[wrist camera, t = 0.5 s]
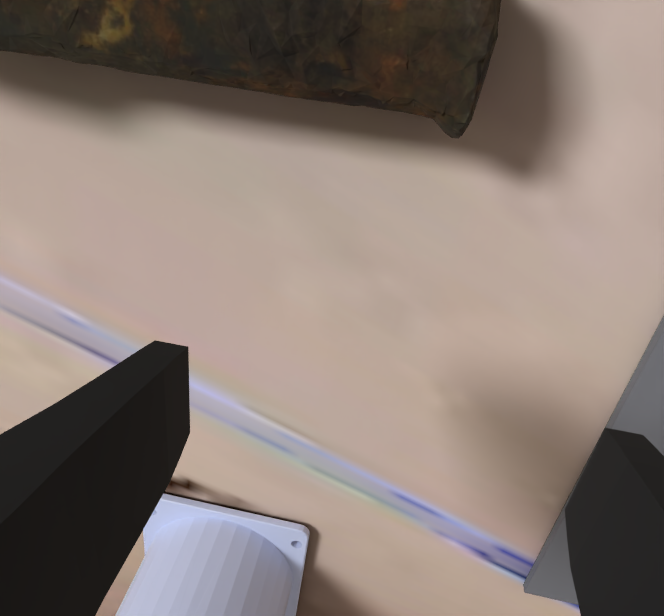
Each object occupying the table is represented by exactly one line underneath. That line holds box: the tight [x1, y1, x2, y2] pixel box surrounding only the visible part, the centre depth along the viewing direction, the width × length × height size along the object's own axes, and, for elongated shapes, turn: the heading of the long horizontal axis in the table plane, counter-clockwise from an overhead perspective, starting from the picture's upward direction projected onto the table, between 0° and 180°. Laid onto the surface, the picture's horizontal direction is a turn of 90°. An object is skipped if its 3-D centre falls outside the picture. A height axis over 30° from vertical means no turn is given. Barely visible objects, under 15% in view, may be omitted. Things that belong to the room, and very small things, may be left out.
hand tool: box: [0, 0, 501, 138], centre depth 14 cm, size 19×4×5 cm, turn 81°
